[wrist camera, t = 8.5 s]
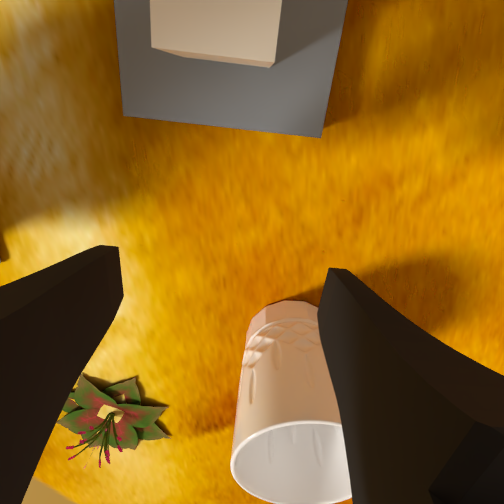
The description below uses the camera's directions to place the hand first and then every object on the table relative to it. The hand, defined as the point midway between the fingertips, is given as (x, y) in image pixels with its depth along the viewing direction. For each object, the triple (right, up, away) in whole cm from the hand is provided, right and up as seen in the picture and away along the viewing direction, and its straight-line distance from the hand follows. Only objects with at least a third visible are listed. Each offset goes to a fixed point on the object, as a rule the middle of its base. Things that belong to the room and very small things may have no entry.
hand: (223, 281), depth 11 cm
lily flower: (-12, -14, +20) cm, 27 cm away
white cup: (+4, -5, +14) cm, 16 cm away
